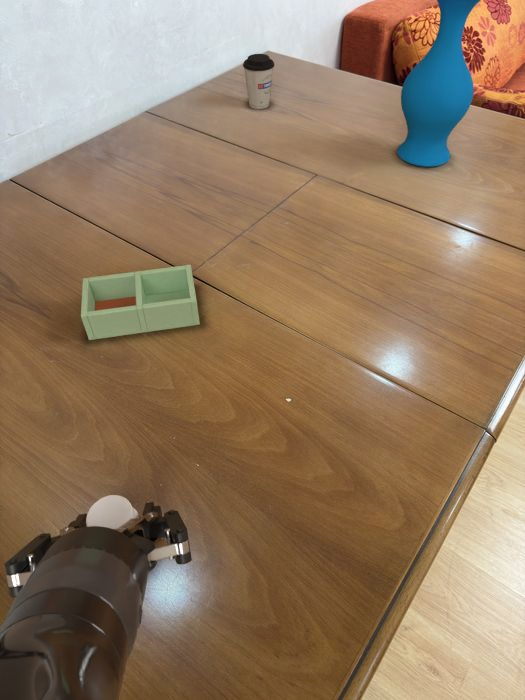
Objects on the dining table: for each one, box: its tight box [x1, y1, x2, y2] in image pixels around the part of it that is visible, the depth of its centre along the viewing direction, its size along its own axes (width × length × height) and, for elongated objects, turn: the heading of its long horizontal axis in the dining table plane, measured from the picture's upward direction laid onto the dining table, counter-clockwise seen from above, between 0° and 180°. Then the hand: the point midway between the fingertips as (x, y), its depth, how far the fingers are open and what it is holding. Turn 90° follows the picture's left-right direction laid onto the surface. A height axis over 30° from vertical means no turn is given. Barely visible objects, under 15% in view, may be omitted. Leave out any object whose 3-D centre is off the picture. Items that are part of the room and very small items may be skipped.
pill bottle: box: [86, 494, 141, 529], centre depth 49 cm, size 5×5×8 cm
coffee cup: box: [242, 53, 275, 110], centre depth 119 cm, size 7×7×10 cm
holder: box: [80, 264, 201, 341], centre depth 74 cm, size 15×8×4 cm, turn 101°
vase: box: [396, 0, 481, 168], centre depth 95 cm, size 12×13×28 cm
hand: (118, 518), depth 50 cm, fingers open, 5 cm apart
